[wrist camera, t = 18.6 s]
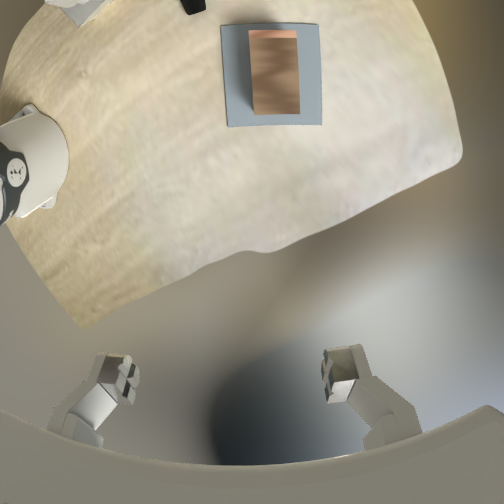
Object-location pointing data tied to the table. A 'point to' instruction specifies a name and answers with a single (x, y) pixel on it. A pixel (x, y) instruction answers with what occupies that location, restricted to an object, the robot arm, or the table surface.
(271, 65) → the walnut block
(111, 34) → the table surface
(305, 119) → the slate pad
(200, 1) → the electric trimmer
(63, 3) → the white peg stand
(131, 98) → the table surface
